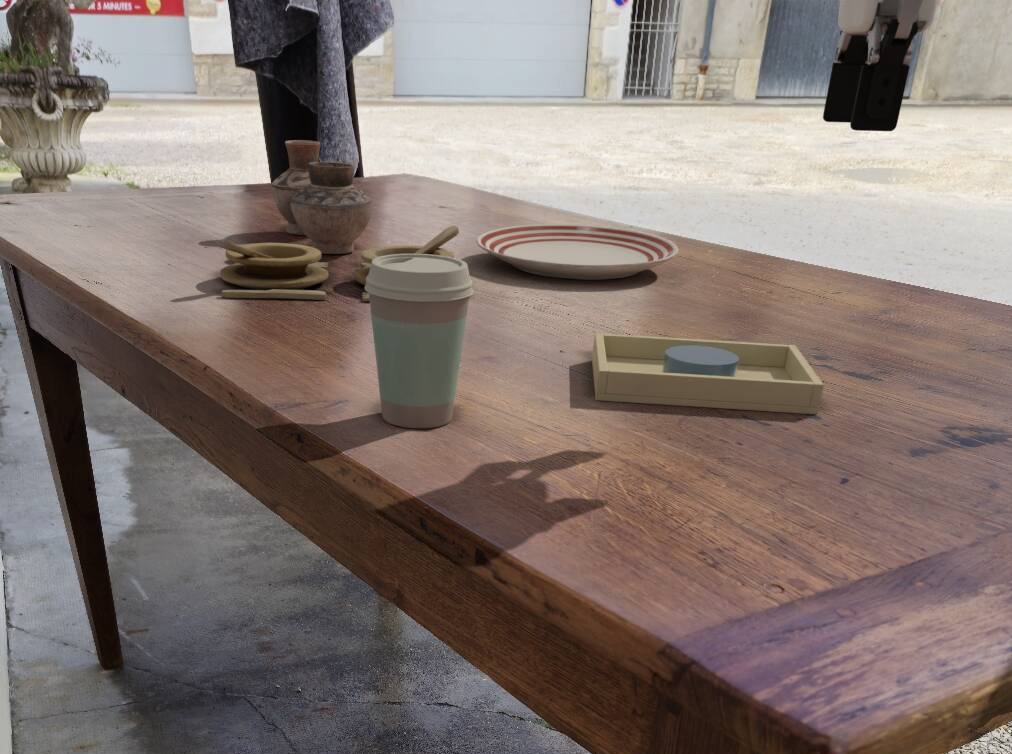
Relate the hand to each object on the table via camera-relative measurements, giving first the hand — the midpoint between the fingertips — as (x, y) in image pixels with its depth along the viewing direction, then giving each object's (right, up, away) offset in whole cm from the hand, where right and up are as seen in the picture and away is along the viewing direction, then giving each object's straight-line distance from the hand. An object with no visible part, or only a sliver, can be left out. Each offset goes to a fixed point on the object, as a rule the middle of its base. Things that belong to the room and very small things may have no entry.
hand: (856, 126), depth 80 cm
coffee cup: (-34, -20, +7) cm, 40 cm away
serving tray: (-8, -14, +18) cm, 24 cm away
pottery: (-50, +25, +71) cm, 91 cm away
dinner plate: (-14, +18, +63) cm, 68 cm away
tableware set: (-45, +9, +49) cm, 67 cm away
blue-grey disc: (-8, -13, +18) cm, 23 cm away
